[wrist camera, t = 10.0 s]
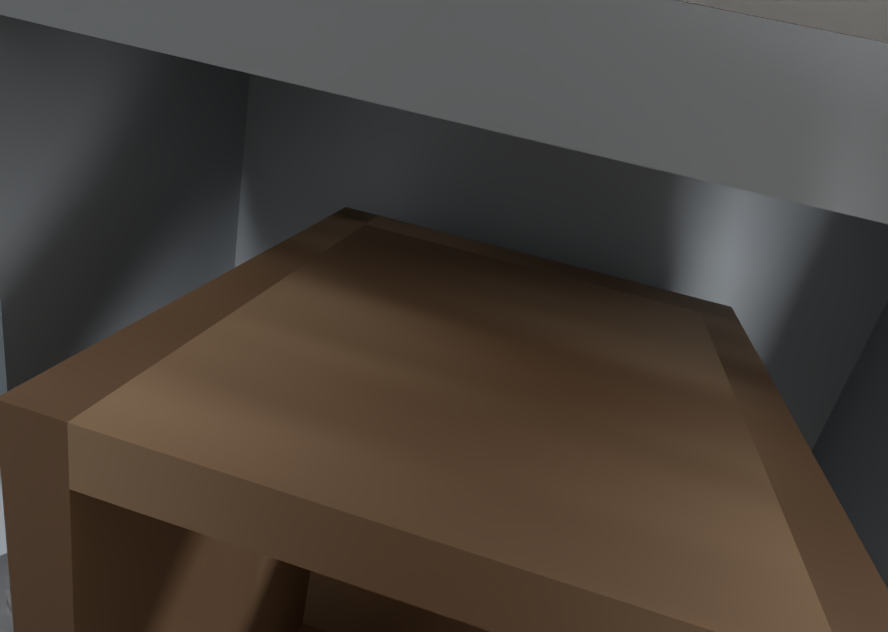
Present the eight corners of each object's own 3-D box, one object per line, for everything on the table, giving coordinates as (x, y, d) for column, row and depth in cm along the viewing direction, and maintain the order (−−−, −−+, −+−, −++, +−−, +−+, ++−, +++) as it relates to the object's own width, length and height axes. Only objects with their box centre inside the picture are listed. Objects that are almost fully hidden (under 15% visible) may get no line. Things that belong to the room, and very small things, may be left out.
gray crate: (182, 569, 17) (-22, 813, 11) (216, -52, 11) (-150, -167, 6) (701, 749, 15) (760, 1141, 10) (1044, 122, 10) (1649, 195, 4)
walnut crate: (288, 609, 13) (47, 1028, 7) (346, 207, 9) (-6, 398, 4) (569, 706, 12) (542, 1256, 6) (731, 307, 9) (955, 708, 3)
